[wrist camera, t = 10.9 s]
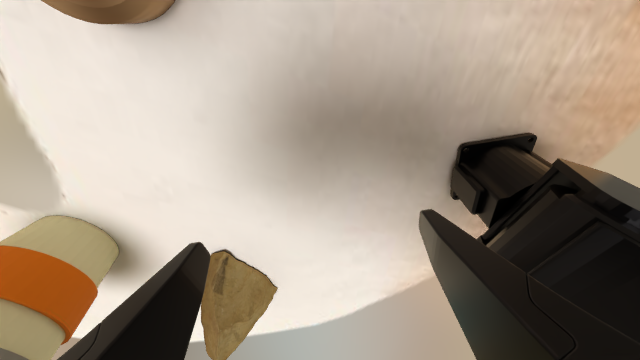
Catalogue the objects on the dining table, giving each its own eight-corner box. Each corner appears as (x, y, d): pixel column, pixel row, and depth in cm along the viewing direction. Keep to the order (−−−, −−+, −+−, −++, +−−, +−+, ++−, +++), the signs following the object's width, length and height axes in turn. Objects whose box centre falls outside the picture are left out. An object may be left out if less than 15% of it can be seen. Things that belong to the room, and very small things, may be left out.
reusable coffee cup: (152, 268, 32) (51, 422, 20) (68, 274, 33) (-81, 426, 21) (93, 198, 25) (-124, 372, 13) (-14, 208, 26) (-316, 382, 13)
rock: (177, 262, 28) (195, 314, 32) (194, 319, 22) (213, 372, 26) (261, 228, 34) (266, 276, 38) (292, 265, 28) (294, 317, 32)
